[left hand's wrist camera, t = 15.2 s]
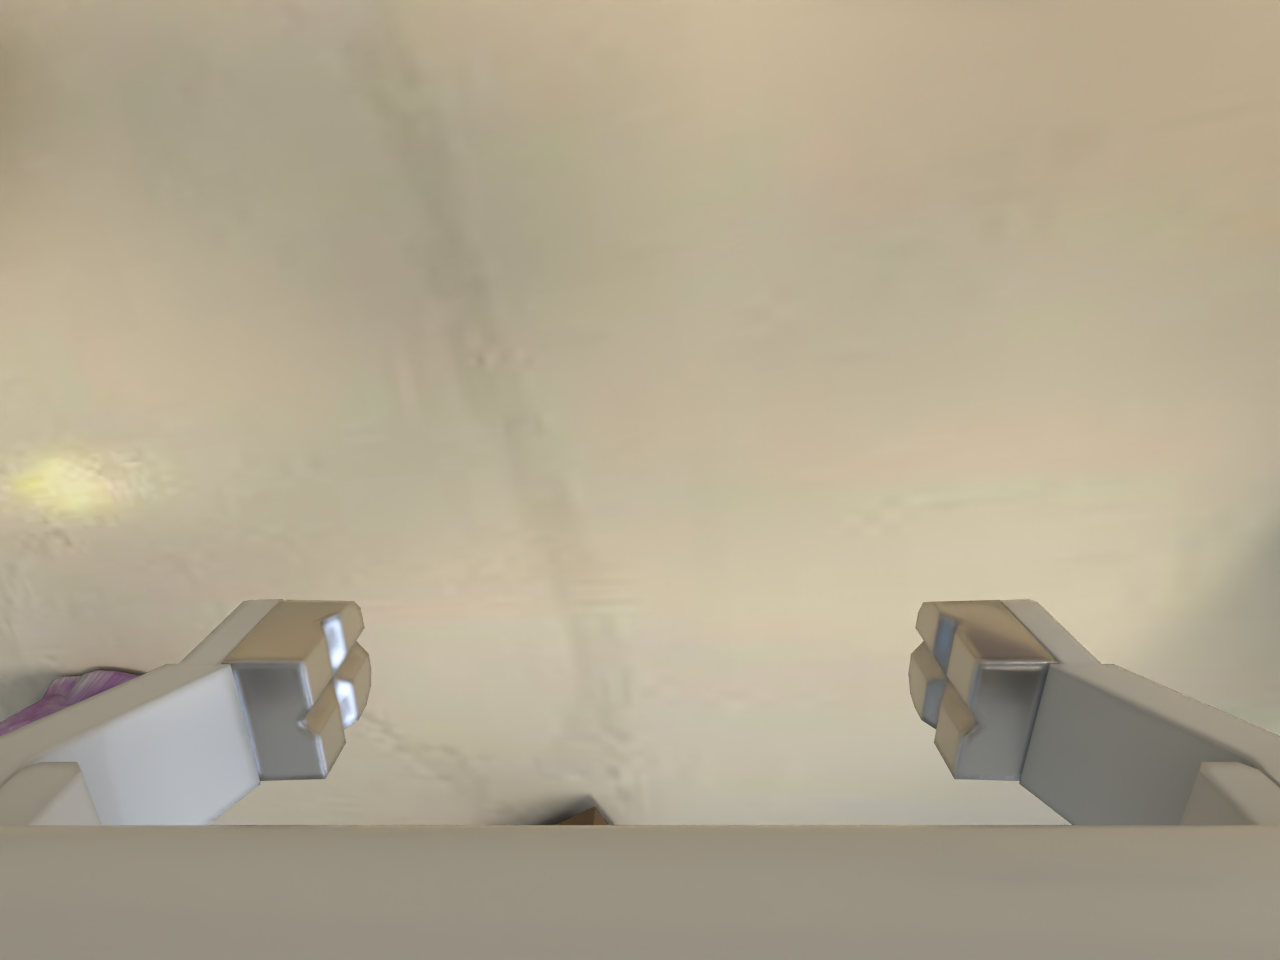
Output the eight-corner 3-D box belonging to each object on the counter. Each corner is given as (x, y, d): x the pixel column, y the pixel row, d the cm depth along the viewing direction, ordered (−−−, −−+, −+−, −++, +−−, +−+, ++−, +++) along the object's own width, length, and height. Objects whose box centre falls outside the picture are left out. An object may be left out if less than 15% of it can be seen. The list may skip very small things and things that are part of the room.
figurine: (13, 695, 48) (-243, 892, 34) (123, 635, 46) (-99, 818, 32) (111, 787, 51) (-89, 1003, 37) (218, 734, 49) (50, 941, 35)
